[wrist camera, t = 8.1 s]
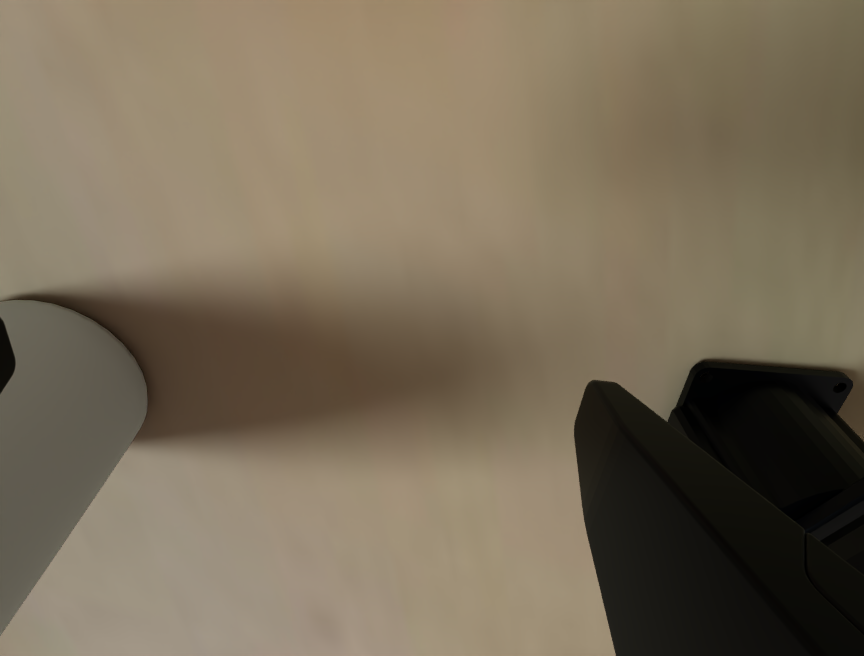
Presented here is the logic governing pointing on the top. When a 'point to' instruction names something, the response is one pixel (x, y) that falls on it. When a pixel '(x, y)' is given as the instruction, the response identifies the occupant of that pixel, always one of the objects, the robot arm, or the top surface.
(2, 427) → the milk bottle
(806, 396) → the robot arm
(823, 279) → the top surface
